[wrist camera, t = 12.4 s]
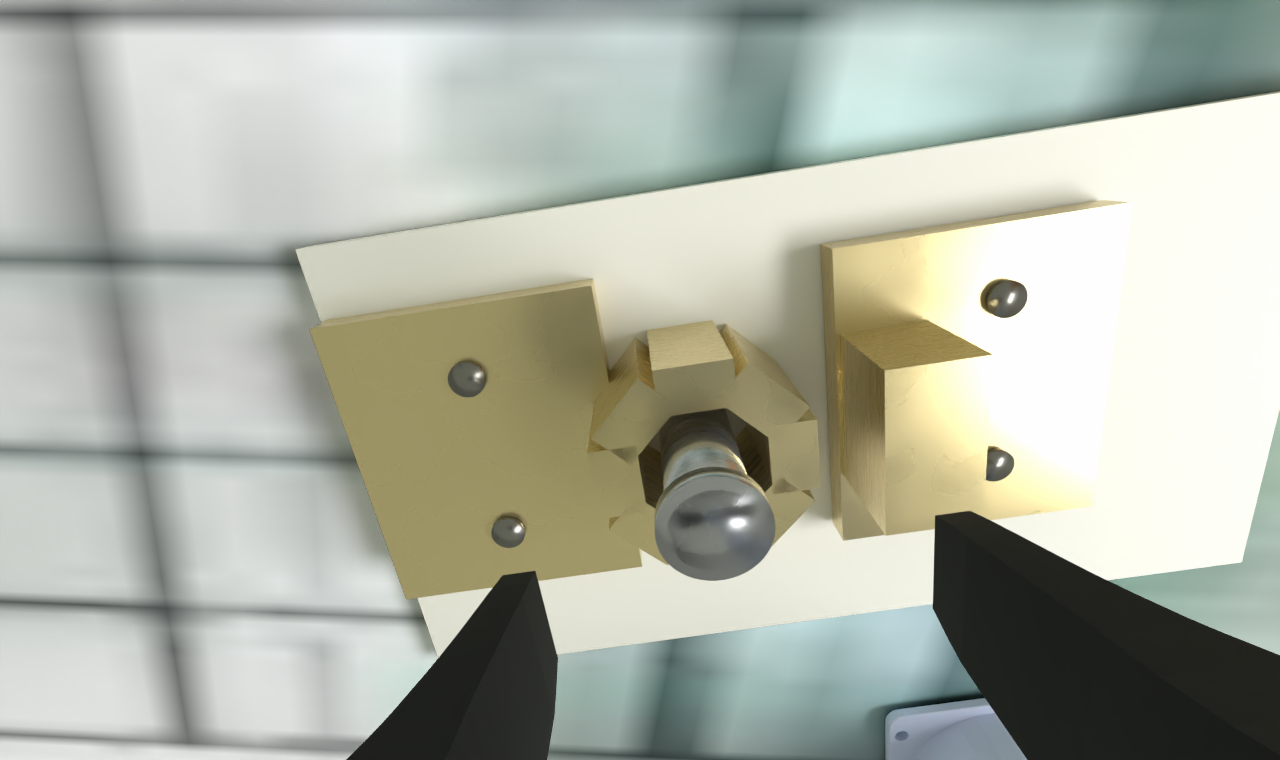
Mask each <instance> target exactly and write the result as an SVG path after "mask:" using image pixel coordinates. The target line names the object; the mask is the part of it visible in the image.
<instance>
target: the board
mask: <svg viewBox="0 0 1280 760" xmlns="http://www.w3.org/2000/svg"><path fill="white" fill-rule="evenodd" d="M1100 200H1109V201H1121V202H1133V205H1132V213H1131V220H1130V227H1129V235H1128V242H1127V250H1126V257H1125V264H1124V272H1123V279H1122V287H1121V294H1120V301H1119V309H1118V316H1117V324H1116V331H1115V339H1114V346H1113V353H1112V361H1111V368H1110V376H1109V383H1108V390H1107V398H1106V405H1105V413H1104V420H1103V427H1102V435H1101V442H1100V450H1099V457H1098V464H1097V472H1096V479H1095V487H1094V494H1093V502H1092V506H1090V507H1082V508H1075V509H1068V510H1061V511H1054V512H1047V513H1039V514H1032V515H1025V516H1018V517H1011V518H1003V519H996V520H991V521H993V522H995V523H997V524H999V525H1001V526H1002V527H1004V528H1006V529H1008V530H1010V531H1012V532H1014V533H1016V534H1018V535H1020V536H1022V537H1024V538H1025V539H1027V540H1029V541H1031V542H1033V543H1035V544H1037V545H1039V546H1041V547H1043V548H1045V549H1046V550H1048V551H1050V552H1052V553H1054V554H1056V555H1058V556H1060V557H1062V558H1064V559H1066V560H1068V561H1070V562H1072V563H1074V564H1075V565H1077V566H1079V567H1081V568H1083V569H1085V570H1087V571H1089V572H1091V573H1093V574H1095V575H1097V576H1099V577H1101V578H1103V579H1105V580H1113V579H1121V578H1128V577H1135V576H1143V575H1150V574H1158V573H1165V572H1172V571H1180V570H1187V569H1195V568H1202V567H1209V566H1217V565H1224V564H1232V563H1239V562H1242V558H1243V554H1244V550H1245V546H1246V542H1247V538H1248V534H1249V530H1250V526H1251V522H1252V518H1253V514H1254V510H1255V506H1256V502H1257V498H1258V494H1259V490H1260V486H1261V482H1262V478H1263V474H1264V469H1265V465H1266V461H1267V457H1268V453H1269V449H1270V445H1271V441H1272V437H1273V433H1274V429H1275V425H1276V421H1277V417H1278V413H1279V409H1280V91H1277V92H1271V93H1265V94H1258V95H1252V96H1246V97H1239V98H1233V99H1227V100H1221V101H1214V102H1208V103H1202V104H1196V105H1189V106H1183V107H1177V108H1170V109H1164V110H1158V111H1152V112H1145V113H1139V114H1133V115H1127V116H1120V117H1114V118H1108V119H1101V120H1095V121H1089V122H1083V123H1076V124H1070V125H1064V126H1058V127H1051V128H1045V129H1039V130H1032V131H1026V132H1020V133H1014V134H1007V135H1001V136H995V137H989V138H982V139H976V140H970V141H963V142H957V143H951V144H945V145H938V146H932V147H926V148H920V149H913V150H907V151H901V152H894V153H888V154H882V155H876V156H869V157H863V158H857V159H851V160H844V161H838V162H832V163H825V164H819V165H813V166H807V167H800V168H794V169H788V170H782V171H775V172H769V173H763V174H756V175H750V176H744V177H738V178H731V179H725V180H719V181H713V182H706V183H700V184H694V185H687V186H681V187H675V188H669V189H662V190H656V191H650V192H644V193H637V194H631V195H625V196H618V197H612V198H606V199H600V200H593V201H587V202H581V203H575V204H568V205H562V206H556V207H549V208H543V209H537V210H531V211H524V212H518V213H512V214H506V215H499V216H493V217H487V218H480V219H474V220H468V221H462V222H455V223H449V224H443V225H437V226H430V227H424V228H418V229H411V230H405V231H399V232H393V233H386V234H380V235H374V236H368V237H361V238H355V239H349V240H342V241H336V242H330V243H324V244H317V245H311V246H307V247H303V248H299V249H296V253H297V256H298V259H299V262H300V265H301V267H302V270H303V273H304V276H305V279H306V282H307V285H308V287H309V290H310V293H311V296H312V299H313V302H314V305H315V307H316V310H317V313H318V316H319V319H320V322H321V323H322V322H324V321H326V320H329V319H335V318H342V317H348V316H355V315H361V314H367V313H374V312H380V311H387V310H393V309H400V308H406V307H413V306H419V305H425V304H432V303H438V302H445V301H451V300H458V299H464V298H471V297H477V296H483V295H490V294H496V293H503V292H509V291H516V290H522V289H529V288H535V287H541V286H548V285H554V284H561V283H567V282H574V281H580V280H587V279H594V285H595V290H596V296H597V302H598V307H599V313H600V318H601V324H602V330H603V335H604V341H605V346H606V352H607V357H608V363H609V369H610V370H611V368H612V367H613V366H614V364H615V363H616V362H617V360H618V359H619V358H620V356H621V355H622V354H623V352H624V351H625V350H626V349H627V347H628V346H629V345H630V343H631V342H632V341H633V339H634V338H635V337H636V338H637V339H639V340H640V341H642V342H643V343H644V344H646V345H647V346H649V344H648V336H647V330H651V329H658V328H665V327H671V326H678V325H684V324H691V323H698V322H704V321H711V320H713V322H714V324H715V326H716V327H717V329H718V331H720V330H721V328H722V327H723V326H724V325H725V323H726V324H727V325H729V326H730V327H731V328H733V329H734V330H735V331H737V332H738V333H739V334H741V335H742V336H743V337H745V338H746V339H747V340H749V341H750V342H751V343H753V344H754V345H756V346H757V347H758V348H760V349H761V350H762V351H764V352H765V353H766V354H768V355H769V356H770V357H772V358H773V359H774V360H776V362H777V363H778V364H779V366H780V367H781V368H782V370H783V371H784V372H785V374H786V375H787V376H788V378H789V379H790V380H791V382H792V383H793V384H794V386H795V387H796V388H797V390H798V391H799V392H800V394H801V395H802V396H803V398H804V399H805V400H806V402H807V403H808V404H809V406H810V408H809V409H810V410H811V412H812V413H813V414H814V416H815V417H816V418H817V424H818V444H819V464H820V484H821V488H816V489H809V490H810V492H811V494H812V495H813V497H814V499H815V502H814V503H813V504H812V505H811V506H810V507H809V508H808V509H807V510H806V511H805V512H804V513H803V514H802V515H801V517H800V518H799V519H798V520H797V521H796V522H795V523H794V524H793V525H792V526H791V527H790V528H789V529H788V530H787V531H786V532H785V533H784V534H783V535H782V536H781V537H780V539H779V540H778V541H777V542H776V543H775V544H774V545H773V546H772V547H771V548H770V550H769V552H768V553H767V555H766V556H765V557H764V559H763V560H762V561H761V562H760V563H759V564H758V565H756V566H755V567H754V568H753V569H751V570H749V571H748V572H746V573H744V574H742V575H740V576H737V577H734V578H731V579H726V580H719V581H706V580H699V579H694V578H691V577H688V576H686V575H684V574H682V573H680V572H678V571H677V570H675V569H674V568H673V567H671V566H670V565H668V566H667V565H666V564H664V563H663V562H661V561H659V560H658V559H656V558H654V557H653V556H651V555H649V554H648V553H646V552H644V551H643V550H642V567H636V568H629V569H622V570H615V571H608V572H600V573H593V574H586V575H579V576H572V577H564V578H557V579H550V580H543V581H538V583H539V587H540V591H541V594H542V598H543V602H544V606H545V610H546V614H547V618H548V622H549V626H550V630H551V633H552V637H553V641H554V645H555V649H556V653H557V655H558V654H565V653H573V652H580V651H587V650H595V649H602V648H610V647H617V646H625V645H632V644H639V643H647V642H654V641H662V640H669V639H676V638H684V637H691V636H699V635H706V634H713V633H721V632H728V631H736V630H743V629H750V628H758V627H765V626H773V625H780V624H787V623H795V622H802V621H810V620H817V619H824V618H832V617H839V616H847V615H854V614H861V613H869V612H876V611H884V610H891V609H898V608H906V607H913V606H921V605H928V604H933V579H934V538H935V529H932V530H924V531H917V532H910V533H903V534H896V535H888V536H885V535H881V536H874V537H867V538H860V539H852V540H845V541H843V540H842V538H841V536H840V535H839V533H838V531H837V529H836V528H835V526H834V524H833V522H832V500H831V477H830V454H829V431H828V409H827V386H826V363H825V340H824V317H823V294H822V271H821V248H820V244H823V243H829V242H836V241H842V240H848V239H855V238H861V237H868V236H874V235H881V234H887V233H894V232H900V231H906V230H913V229H919V228H926V227H932V226H939V225H945V224H952V223H958V222H964V221H971V220H977V219H984V218H990V217H997V216H1003V215H1010V214H1016V213H1022V212H1029V211H1035V210H1042V209H1048V208H1055V207H1061V206H1068V205H1074V204H1081V203H1087V202H1093V201H1100ZM725 411H726V414H727V417H728V420H729V423H730V426H731V428H732V431H733V434H734V437H735V438H736V437H737V436H738V434H739V433H740V432H741V431H742V430H743V429H744V427H745V426H746V423H745V421H744V420H743V419H741V418H740V417H739V416H737V415H736V414H734V413H733V412H731V411H730V410H729V409H727V408H725ZM648 445H649V446H651V447H652V448H654V449H655V450H657V451H658V452H660V453H661V447H660V433H659V431H658V432H657V433H656V435H655V436H654V437H653V438H652V440H651V441H650V442H649V443H648ZM491 589H492V588H485V589H478V590H471V591H464V592H457V593H450V594H442V595H435V596H428V597H421V598H417V599H418V602H419V604H420V607H421V610H422V613H423V616H424V619H425V622H426V624H427V627H428V630H429V633H430V636H431V639H432V642H433V644H434V647H435V650H436V653H437V656H438V658H439V657H440V655H441V654H442V653H443V652H444V650H445V649H446V648H447V647H448V645H449V644H450V643H451V642H452V640H453V639H454V638H455V637H456V635H457V634H458V633H459V631H460V630H461V629H462V627H463V626H464V625H465V624H466V622H467V621H468V620H469V618H470V617H471V616H472V614H473V613H474V612H475V610H476V609H477V608H478V606H479V605H480V604H481V602H482V601H483V600H484V598H485V597H486V596H487V594H488V593H489V592H490V591H491Z"/></svg>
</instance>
